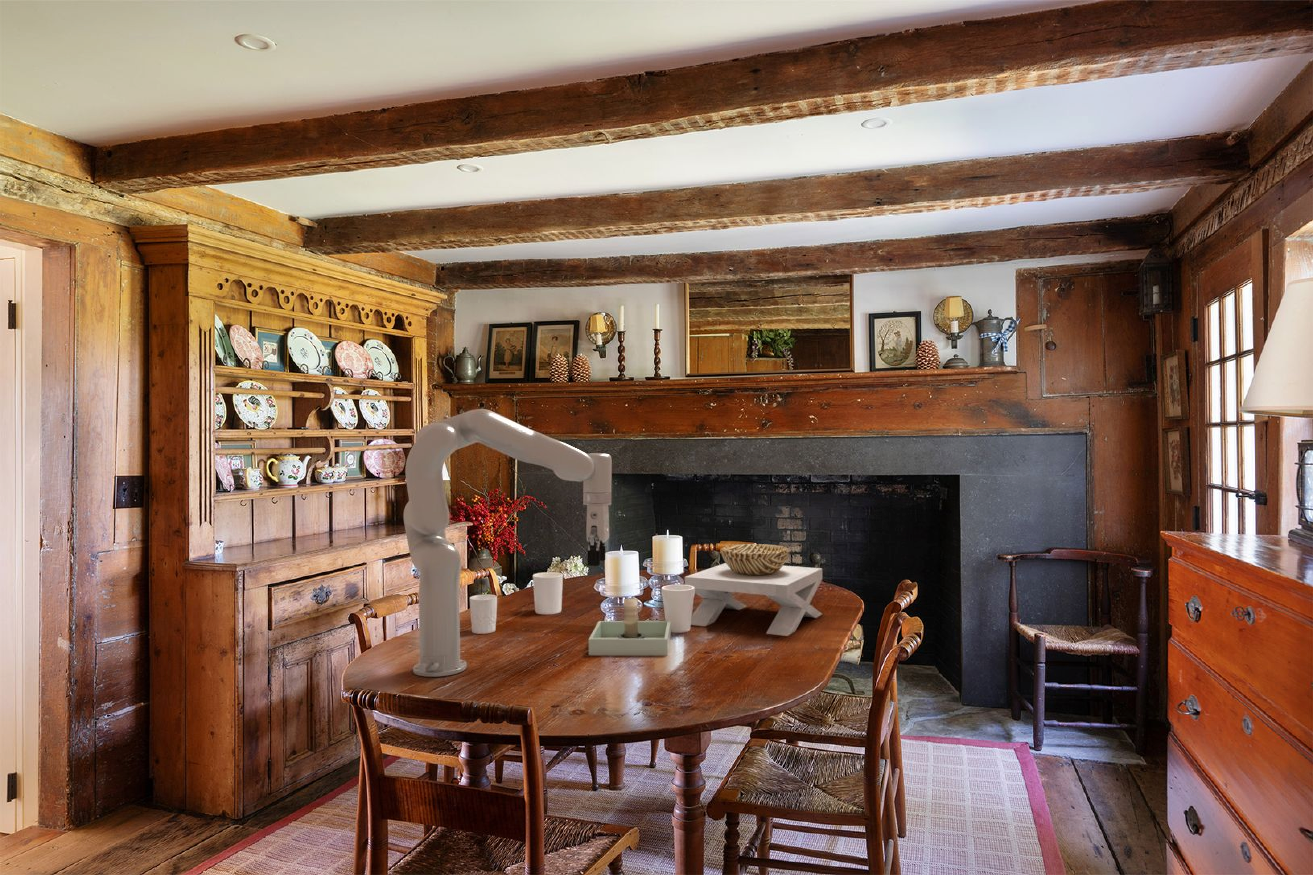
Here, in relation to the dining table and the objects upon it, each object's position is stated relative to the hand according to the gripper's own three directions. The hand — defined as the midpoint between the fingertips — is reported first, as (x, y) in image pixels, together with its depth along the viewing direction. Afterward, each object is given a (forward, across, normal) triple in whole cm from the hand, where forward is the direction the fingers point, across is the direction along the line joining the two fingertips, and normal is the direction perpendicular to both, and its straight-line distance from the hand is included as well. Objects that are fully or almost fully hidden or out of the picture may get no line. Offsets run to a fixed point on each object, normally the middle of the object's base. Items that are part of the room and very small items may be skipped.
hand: (596, 562), depth 214 cm
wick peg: (+21, -1, -10) cm, 23 cm away
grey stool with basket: (+21, +34, -44) cm, 60 cm away
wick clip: (+21, -1, -10) cm, 23 cm away
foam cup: (+22, +16, -21) cm, 35 cm away
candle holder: (+23, +43, +22) cm, 53 cm away
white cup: (+23, +16, +36) cm, 46 cm away
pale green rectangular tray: (+22, -1, -10) cm, 24 cm away
